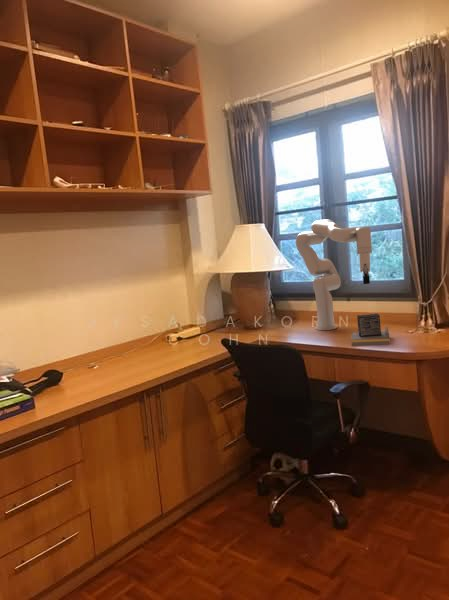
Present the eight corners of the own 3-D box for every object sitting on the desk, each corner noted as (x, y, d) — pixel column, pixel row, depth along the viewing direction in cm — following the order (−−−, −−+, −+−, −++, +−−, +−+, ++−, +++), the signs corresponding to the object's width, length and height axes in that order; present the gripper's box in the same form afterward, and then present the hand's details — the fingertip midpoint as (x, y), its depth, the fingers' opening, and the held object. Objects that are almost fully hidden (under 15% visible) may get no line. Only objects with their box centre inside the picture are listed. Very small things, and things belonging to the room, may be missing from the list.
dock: (352, 338, 256) (351, 328, 255) (388, 336, 251) (387, 326, 250) (351, 345, 241) (351, 335, 240) (389, 344, 235) (389, 333, 235)
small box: (379, 333, 248) (377, 313, 247) (381, 335, 242) (380, 315, 241) (358, 334, 250) (356, 314, 249) (360, 337, 244) (358, 316, 242)
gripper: (357, 250, 264) (359, 281, 266) (356, 252, 247) (359, 285, 249) (371, 249, 261) (373, 280, 264) (372, 250, 245) (374, 284, 247)
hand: (366, 282), depth 257 cm, fingers open, 9 cm apart
